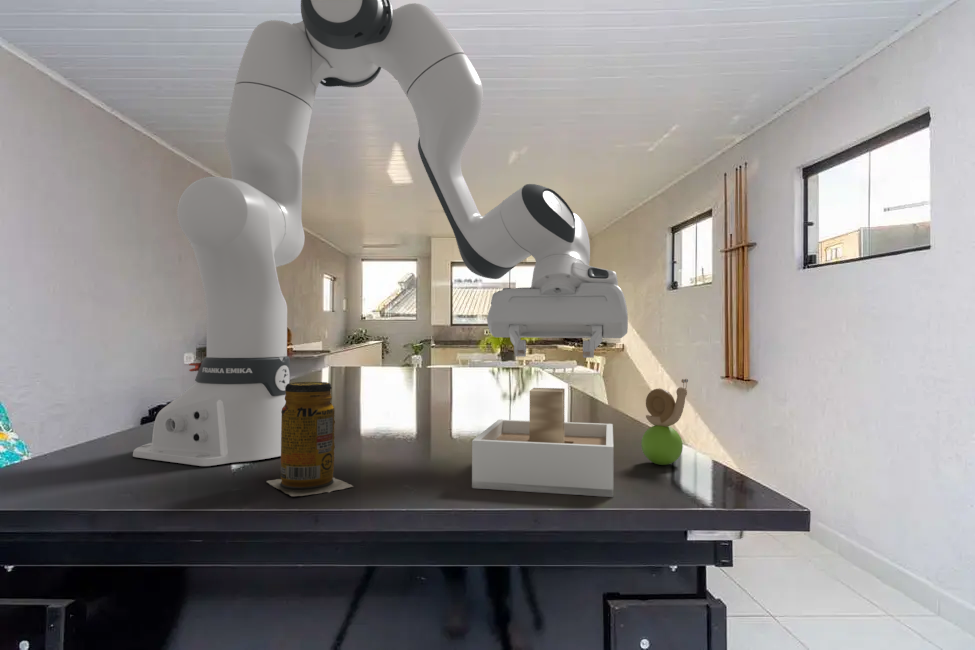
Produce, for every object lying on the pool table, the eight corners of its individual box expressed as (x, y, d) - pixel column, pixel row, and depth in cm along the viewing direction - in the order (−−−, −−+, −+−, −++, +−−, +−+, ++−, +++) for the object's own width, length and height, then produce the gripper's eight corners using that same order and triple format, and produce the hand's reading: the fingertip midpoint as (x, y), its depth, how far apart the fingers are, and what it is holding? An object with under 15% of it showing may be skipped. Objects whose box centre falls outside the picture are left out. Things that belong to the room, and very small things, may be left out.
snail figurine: (675, 472, 74) (675, 379, 74) (633, 464, 79) (633, 376, 79) (696, 466, 77) (697, 377, 77) (655, 458, 82) (655, 374, 82)
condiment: (323, 473, 73) (324, 379, 73) (353, 488, 66) (354, 384, 66) (265, 483, 68) (266, 382, 68) (291, 499, 62) (292, 388, 62)
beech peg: (529, 471, 71) (529, 390, 71) (533, 464, 75) (533, 387, 75) (561, 473, 70) (561, 391, 70) (564, 465, 74) (564, 388, 74)
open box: (472, 488, 66) (472, 440, 66) (498, 458, 82) (498, 419, 82) (613, 497, 63) (613, 446, 63) (612, 463, 78) (612, 423, 79)
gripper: (491, 273, 88) (476, 337, 79) (627, 271, 84) (629, 338, 74) (496, 303, 93) (483, 368, 83) (626, 303, 88) (628, 370, 79)
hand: (553, 354), depth 79 cm, fingers open, 8 cm apart
